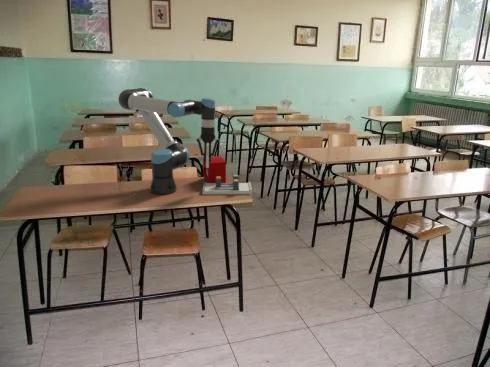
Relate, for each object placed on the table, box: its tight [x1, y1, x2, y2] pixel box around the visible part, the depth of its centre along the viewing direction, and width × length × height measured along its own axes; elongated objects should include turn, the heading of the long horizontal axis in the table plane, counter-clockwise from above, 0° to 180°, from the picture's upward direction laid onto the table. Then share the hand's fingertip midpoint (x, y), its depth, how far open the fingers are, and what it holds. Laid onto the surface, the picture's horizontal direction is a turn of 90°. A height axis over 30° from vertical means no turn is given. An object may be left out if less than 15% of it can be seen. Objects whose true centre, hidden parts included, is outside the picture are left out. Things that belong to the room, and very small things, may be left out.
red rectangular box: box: [202, 155, 227, 183], centre depth 249 cm, size 16×11×15 cm
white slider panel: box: [202, 174, 253, 195], centre depth 233 cm, size 28×15×8 cm, turn 93°
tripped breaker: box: [216, 176, 221, 187], centre depth 233 cm, size 3×3×5 cm
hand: (207, 167), depth 230 cm, fingers closed
